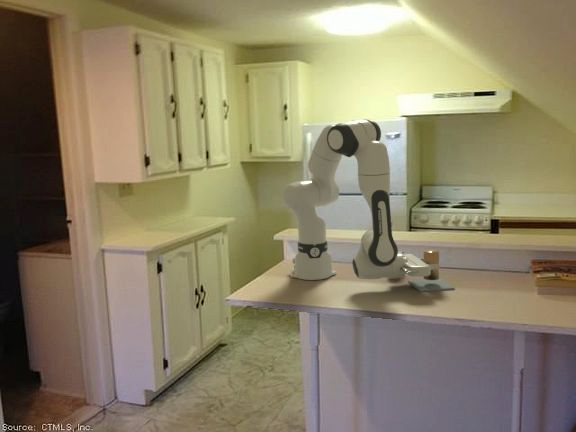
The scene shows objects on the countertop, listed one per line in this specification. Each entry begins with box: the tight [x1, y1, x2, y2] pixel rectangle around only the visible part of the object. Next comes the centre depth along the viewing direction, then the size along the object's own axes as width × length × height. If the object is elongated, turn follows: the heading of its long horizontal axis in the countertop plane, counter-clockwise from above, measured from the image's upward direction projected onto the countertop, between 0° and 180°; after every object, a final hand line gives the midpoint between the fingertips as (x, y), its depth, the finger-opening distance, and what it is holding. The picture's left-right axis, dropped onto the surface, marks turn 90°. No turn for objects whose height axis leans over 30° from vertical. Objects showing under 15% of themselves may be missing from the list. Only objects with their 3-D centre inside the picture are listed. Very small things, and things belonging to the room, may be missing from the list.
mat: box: [407, 277, 456, 293], centre depth 194 cm, size 13×13×1 cm
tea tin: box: [423, 249, 440, 280], centre depth 192 cm, size 6×6×10 cm
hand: (433, 263), depth 192 cm, fingers closed on tea tin, 5 cm apart
